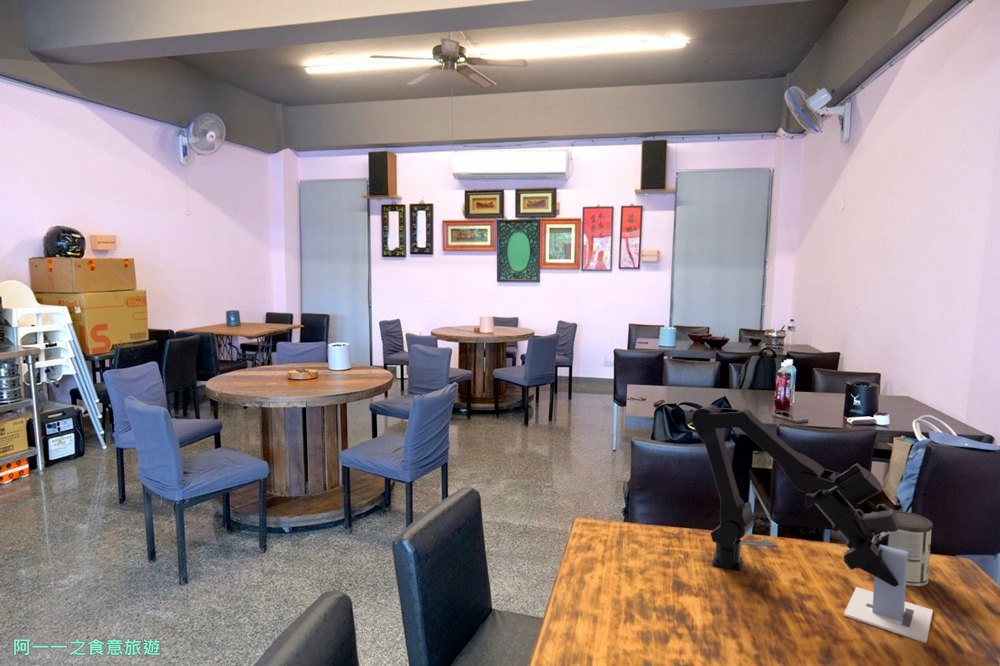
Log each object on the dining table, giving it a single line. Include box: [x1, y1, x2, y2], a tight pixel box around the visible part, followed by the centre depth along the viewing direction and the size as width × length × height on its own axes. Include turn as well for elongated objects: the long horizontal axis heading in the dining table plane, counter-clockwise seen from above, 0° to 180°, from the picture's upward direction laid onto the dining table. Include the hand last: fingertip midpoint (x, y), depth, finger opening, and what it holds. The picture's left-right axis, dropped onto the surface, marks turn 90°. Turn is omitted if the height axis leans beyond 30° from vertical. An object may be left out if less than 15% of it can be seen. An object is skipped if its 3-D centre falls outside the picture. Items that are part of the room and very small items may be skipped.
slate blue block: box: [872, 545, 908, 621], centre depth 121 cm, size 5×5×13 cm
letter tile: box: [843, 586, 934, 644], centre depth 121 cm, size 14×14×1 cm
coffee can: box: [880, 509, 934, 587], centre depth 137 cm, size 10×10×14 cm
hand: (898, 579), depth 120 cm, fingers open, 6 cm apart
